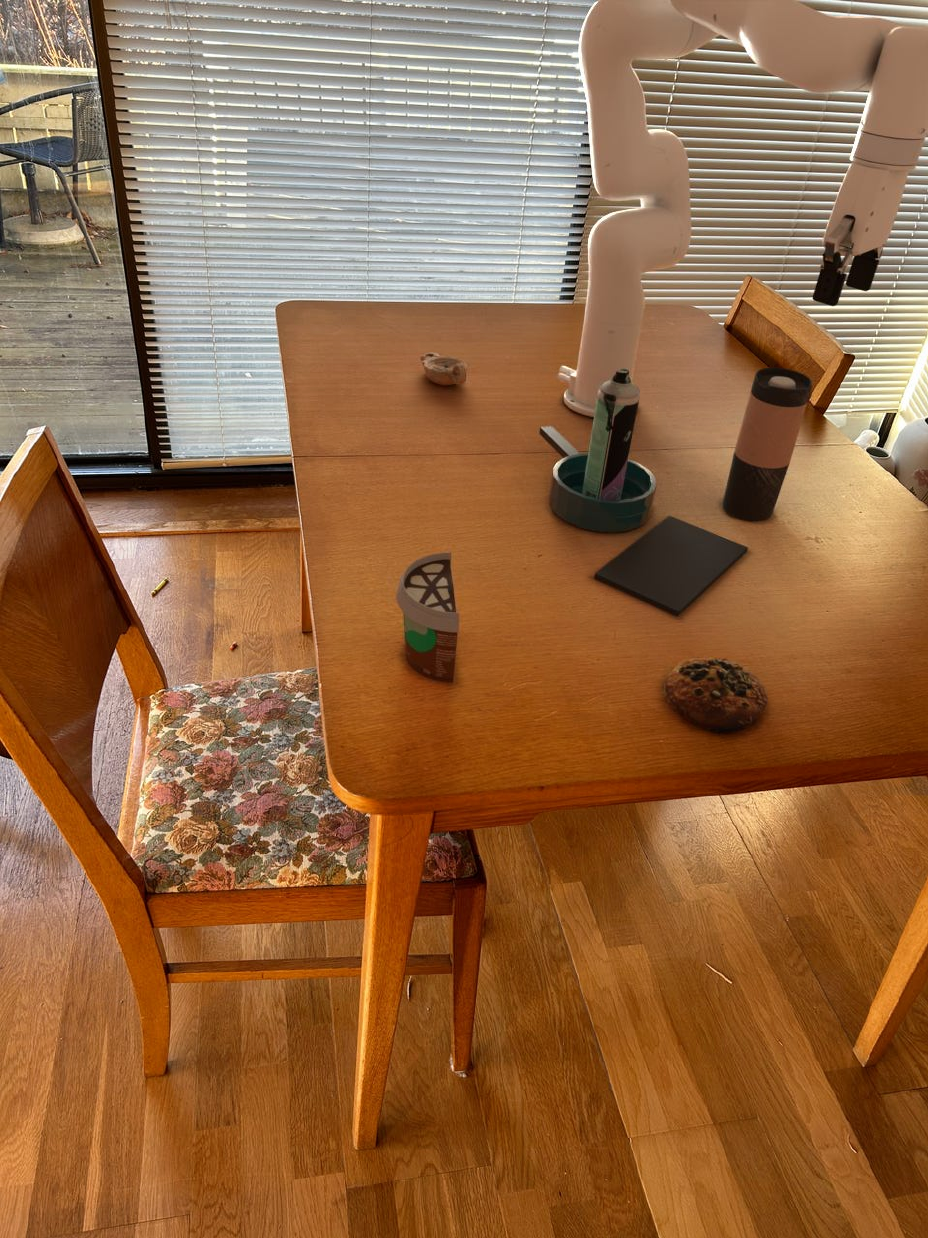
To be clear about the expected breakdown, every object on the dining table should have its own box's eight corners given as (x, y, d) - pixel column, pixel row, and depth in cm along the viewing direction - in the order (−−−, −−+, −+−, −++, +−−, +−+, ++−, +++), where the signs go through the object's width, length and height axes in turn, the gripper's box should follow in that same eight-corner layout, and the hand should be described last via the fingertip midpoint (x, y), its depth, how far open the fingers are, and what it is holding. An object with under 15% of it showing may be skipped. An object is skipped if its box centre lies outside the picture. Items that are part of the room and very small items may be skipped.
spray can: (617, 517, 130) (643, 381, 118) (578, 511, 131) (600, 375, 119) (620, 498, 134) (645, 365, 122) (582, 493, 135) (603, 360, 123)
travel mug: (775, 503, 137) (814, 373, 125) (771, 527, 131) (812, 394, 119) (723, 491, 139) (757, 362, 127) (717, 515, 133) (752, 383, 121)
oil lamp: (410, 369, 169) (411, 342, 166) (447, 364, 172) (448, 338, 169) (442, 398, 160) (443, 370, 157) (480, 392, 163) (482, 365, 160)
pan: (529, 507, 131) (533, 476, 128) (583, 473, 141) (588, 443, 138) (616, 546, 125) (623, 513, 122) (667, 507, 134) (674, 476, 131)
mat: (593, 578, 118) (594, 573, 118) (668, 520, 131) (669, 515, 131) (677, 617, 113) (679, 611, 112) (747, 552, 126) (748, 547, 125)
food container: (393, 621, 108) (395, 549, 102) (446, 621, 109) (451, 549, 103) (396, 692, 99) (398, 616, 93) (454, 691, 99) (459, 616, 93)
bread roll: (700, 745, 95) (709, 704, 92) (640, 689, 103) (646, 650, 101) (786, 723, 99) (796, 683, 96) (721, 671, 107) (729, 633, 105)
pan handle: (585, 467, 137) (586, 459, 136) (573, 468, 136) (574, 461, 135) (550, 432, 145) (551, 425, 144) (539, 433, 144) (539, 426, 144)
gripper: (885, 137, 117) (842, 275, 128) (824, 151, 107) (783, 300, 117) (944, 149, 114) (895, 290, 124) (887, 164, 103) (839, 317, 113)
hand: (841, 295), depth 121 cm, fingers open, 9 cm apart
